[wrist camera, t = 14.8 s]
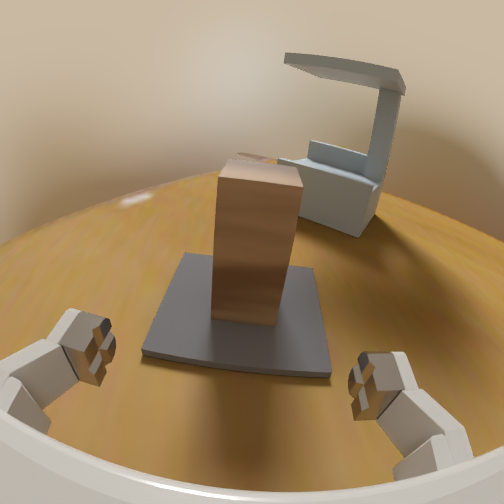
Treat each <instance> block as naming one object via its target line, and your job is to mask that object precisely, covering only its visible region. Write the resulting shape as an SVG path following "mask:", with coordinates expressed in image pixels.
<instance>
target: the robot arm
mask: <svg viewBox="0 0 504 504" xmlns="http://www.w3.org/2000/svg"><path fill="white" fill-rule="evenodd" d="M111 327H112V326H111V323H110V319H108V318H105V317H101V316H98V315H94V314H91V313H87V312H84V311H80V310H76V309H73V308H70V309H68V310H66V312H65V313H64V315H63V316H62V317H61V319H60V320H59V321H58V323H57V324H56V326H55V327H54V328H53V330H52V331H51V333H50V334H49V336H48V337H47V339H46V340H45V339H41V340H39V341H37V342H35V343H33V344H31V345H29V346H27V347H26V348H24V349H22V350H20V351H18V352H16V353H14V354H12V355H10V356H8V357H7V358H5V359H3V360H1V361H0V504H504V445H503V446H501V447H499V448H497V449H495V450H492V451H490V452H488V453H485V454H483V455H481V456H478V457H476V458H474V456H473V453H472V450H471V446H470V443H469V440H468V437H467V434H466V431H465V428H464V426H462V425H461V424H460V423H459V422H458V421H457V420H456V419H455V418H454V417H453V416H451V415H450V414H449V413H448V412H447V411H446V410H445V409H444V408H443V407H442V406H441V405H439V404H438V403H437V402H436V401H435V400H434V399H433V398H432V397H431V396H429V395H428V394H427V393H426V392H425V391H424V390H423V389H419V388H418V386H417V383H416V380H415V377H414V375H413V372H412V369H411V367H410V364H409V361H408V359H407V356H406V354H405V353H404V352H367V351H364V352H362V353H361V354H360V356H359V357H358V363H359V364H357V365H356V366H354V367H353V368H352V370H351V372H350V374H349V379H348V389H349V394H350V395H351V396H352V397H353V398H354V400H353V402H352V404H351V407H352V412H353V418H354V421H361V420H376V422H377V423H378V424H379V425H380V427H381V428H382V429H383V431H384V432H385V433H386V434H387V436H388V437H389V438H390V440H391V441H392V442H393V443H394V445H395V446H396V447H397V449H398V450H399V451H400V452H401V454H402V455H403V456H404V459H402V460H401V461H400V462H398V463H397V464H395V466H394V467H393V474H394V481H395V482H390V483H384V484H379V485H373V486H366V487H359V488H351V489H342V490H330V491H314V492H263V491H247V490H235V489H226V488H218V487H210V486H204V485H198V484H192V483H186V482H181V481H176V480H172V479H167V478H163V477H159V476H155V475H151V474H147V473H143V472H140V471H136V470H133V469H130V468H126V467H123V466H120V465H117V464H114V463H111V462H108V461H105V460H103V459H100V458H97V457H95V456H92V455H89V454H87V453H84V452H82V451H80V450H77V449H75V448H73V447H70V446H68V445H66V444H64V443H61V442H59V441H57V440H55V439H53V438H51V437H49V436H47V435H46V434H47V432H48V429H49V427H50V425H51V421H50V418H49V417H48V416H47V415H46V414H45V412H44V411H43V409H44V408H45V407H47V406H48V405H49V404H51V403H52V402H53V401H54V400H56V399H57V398H58V397H60V396H61V395H62V394H64V393H65V392H66V391H67V390H69V389H70V388H71V387H73V386H74V385H75V384H77V383H78V382H79V381H82V382H85V383H88V384H92V385H95V386H98V387H100V385H101V383H102V381H103V379H104V377H105V375H106V373H107V371H106V368H105V366H106V365H107V364H109V363H111V362H112V360H113V357H114V355H115V350H116V340H115V337H114V335H113V334H112V333H111V332H110V329H111ZM78 380H79V381H78Z"/></svg>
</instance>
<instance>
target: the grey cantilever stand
mask: <svg viewBox="0 0 504 504" xmlns="http://www.w3.org/2000/svg"><path fill="white" fill-rule="evenodd" d="M284 63H285V64H287V65H290V66H293V67H295V68H298V69H300V70H303V71H305V72H308V73H310V74H313V75H315V76H317V77H320V78H325V79H331V80H337V81H343V82H348V83H354V84H358V85H363V86H368V87H372V88H376V89H380V90H379V97H378V103H377V109H376V114H375V120H374V125H373V131H372V136H371V142H370V146H369V151H368V155H366V154H363V153H359V152H356V151H353V150H349V149H345V148H342V147H338V146H334V145H331V144H327V143H323V142H319V141H315V140H311V141H310V144H309V150H308V156H307V158H305V159H301V160H297V161H292V160H288V159H284V158H279V159H278V162H277V165H284V166H291V167H296V168H297V170H298V173H299V176H300V178H301V181H302V184H303V187H304V189H303V194H302V200H301V205H300V210H299V216H300V217H303V218H305V219H308V220H311V221H314V222H317V223H319V224H322V225H325V226H327V227H330V228H333V229H336V230H338V231H341V232H344V233H346V234H349V235H351V236H354V237H357V238H359V236H360V235H361V234H362V232H363V231H364V229H365V228H366V226H367V225H368V223H369V222H370V220H371V219H372V217H373V216H374V214H375V212H376V208H377V205H378V201H379V197H380V193H381V190H382V186H383V182H384V178H385V174H386V170H387V166H388V161H389V156H390V152H391V148H392V143H393V138H394V134H395V129H396V123H397V118H398V113H399V107H400V101H401V95H403V96H404V95H405V89H406V86H405V84H404V81H403V79H402V77H401V75H400V73H399V70H397V69H393V68H388V67H384V66H380V65H375V64H370V63H365V62H360V61H354V60H348V59H342V58H334V57H327V56H319V55H310V54H298V53H285V59H284Z"/></svg>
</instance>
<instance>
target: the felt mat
mask: <svg viewBox="0 0 504 504" xmlns="http://www.w3.org/2000/svg"><path fill="white" fill-rule="evenodd" d="M212 270H213V256H209V255H201V254H193V253H186V252H185V253H184V255H183V258H182V260H181V262H180V264H179V266H178V268H177V270H176V272H175V274H174V276H173V279H172V281H171V283H170V285H169V287H168V289H167V291H166V294H165V296H164V298H163V300H162V302H161V305H160V307H159V309H158V311H157V314H156V316H155V318H154V320H153V323H152V325H151V327H150V330H149V332H148V334H147V337H146V339H145V341H144V344H143V346H142V349H141V350H142V354H143V355H146V356H150V357H155V358H160V359H165V360H170V361H176V362H181V363H187V364H193V365H199V366H205V367H212V368H219V369H226V370H234V371H242V372H251V373H261V374H272V375H285V376H300V377H322V378H329V377H330V375H331V373H332V369H331V363H330V357H329V351H328V345H327V340H326V334H325V329H324V323H323V318H322V313H321V307H320V302H319V297H318V292H317V287H316V282H315V278H314V273H313V268H306V267H298V266H289V265H288V270H287V275H286V279H285V284H284V289H283V293H282V298H281V302H280V307H279V311H278V315H277V320H276V324H275V327H273V326H264V325H255V324H246V323H238V322H230V321H223V320H216V319H211V293H212Z"/></svg>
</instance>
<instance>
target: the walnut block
mask: <svg viewBox="0 0 504 504" xmlns="http://www.w3.org/2000/svg"><path fill="white" fill-rule="evenodd" d="M303 189H304V187H303V184H302V181H301V178H300V176H299V173H298V170H297V168H296V167H291V166H284V165H277V164H270V163H262V162H253V161H245V160H236V159H229V160H228V161H227V163H226V165H225V166H224V168H223V170H222V171H221V173H220V174H219V176H218V186H217V200H216V215H215V231H214V249H213V270H212V293H211V319H216V320H223V321H230V322H238V323H246V324H255V325H264V326H273V327H275V324H276V320H277V315H278V311H279V307H280V302H281V298H282V293H283V289H284V284H285V279H286V275H287V270H288V265H289V260H290V256H291V251H292V246H293V241H294V236H295V231H296V226H297V221H298V216H299V210H300V205H301V200H302V194H303Z"/></svg>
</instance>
